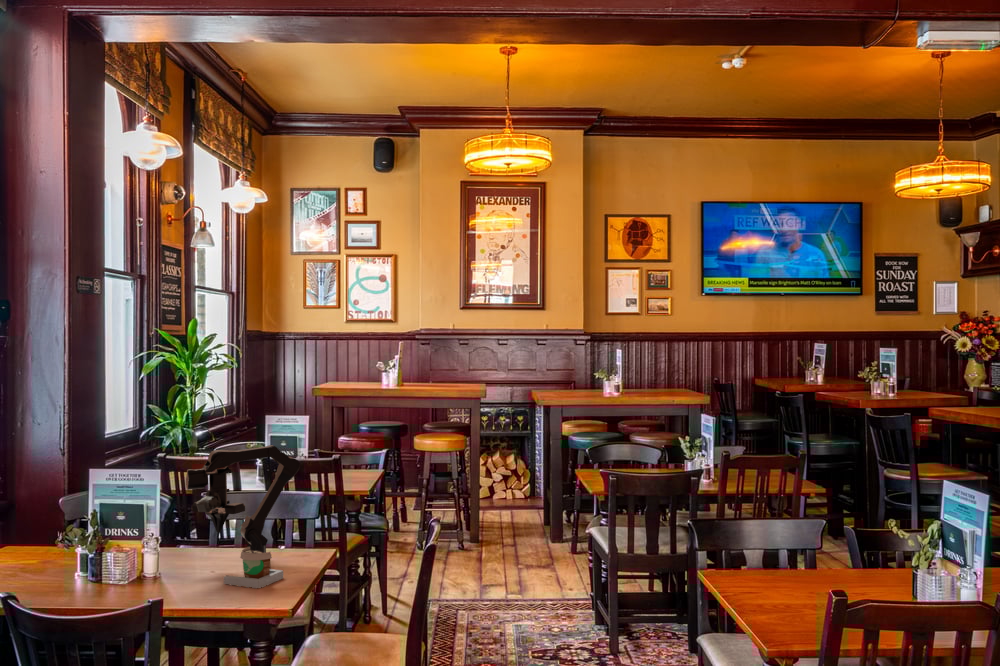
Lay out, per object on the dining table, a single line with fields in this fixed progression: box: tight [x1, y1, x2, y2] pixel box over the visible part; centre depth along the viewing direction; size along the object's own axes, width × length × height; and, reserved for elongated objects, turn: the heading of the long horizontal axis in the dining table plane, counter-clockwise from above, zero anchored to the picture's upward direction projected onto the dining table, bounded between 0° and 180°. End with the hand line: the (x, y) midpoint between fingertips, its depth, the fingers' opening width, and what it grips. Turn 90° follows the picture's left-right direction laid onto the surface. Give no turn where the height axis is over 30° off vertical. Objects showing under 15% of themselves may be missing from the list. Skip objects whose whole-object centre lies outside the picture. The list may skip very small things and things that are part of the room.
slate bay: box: [223, 568, 284, 589], centre depth 257 cm, size 12×14×2 cm
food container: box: [240, 546, 273, 579], centre depth 257 cm, size 12×6×10 cm, turn 52°
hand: (218, 532), depth 275 cm, fingers closed
